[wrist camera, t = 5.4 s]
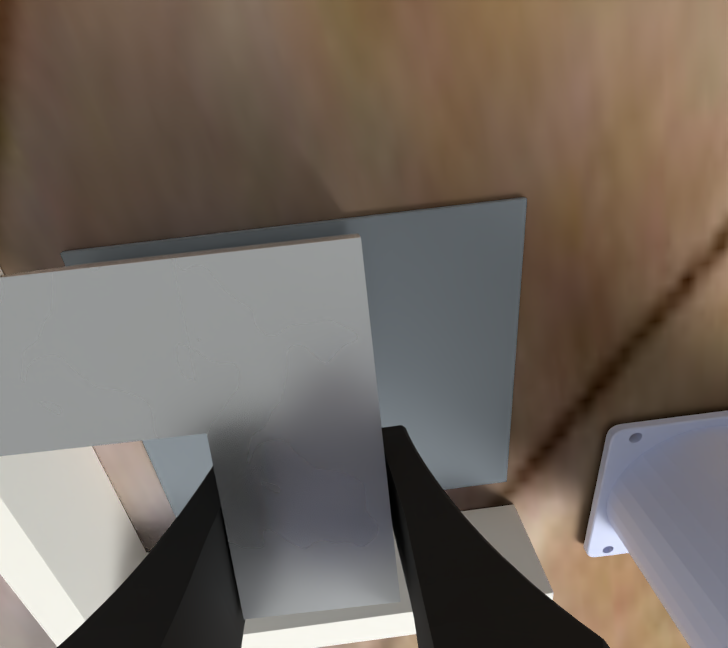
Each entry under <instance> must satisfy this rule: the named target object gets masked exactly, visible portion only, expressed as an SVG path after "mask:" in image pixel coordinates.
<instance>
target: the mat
mask: <svg viewBox="0 0 728 648" xmlns="http://www.w3.org/2000/svg"><path fill="white" fill-rule="evenodd" d="M526 207H527V198H525V197H521V198H513V199H504V200H496V201H487V202H479V203H470V204H462V205H453V206H445V207H436V208H428V209H419V210H411V211H402V212H394V213H385V214H377V215H368V216H359V217H351V218H342V219H334V220H325V221H317V222H308V223H300V224H291V225H283V226H274V227H266V228H257V229H249V230H240V231H232V232H223V233H215V234H206V235H198V236H189V237H181V238H172V239H164V240H155V241H147V242H138V243H130V244H121V245H113V246H104V247H96V248H87V249H79V250H70V251H63V252H62V253H60V255H61V257H62V259H63V261H64V264H65V266H72V265H79V264H86V263H95V262H103V261H112V260H121V259H130V258H139V257H148V256H157V255H166V254H175V253H184V252H193V251H202V250H211V249H220V248H229V247H238V246H247V245H255V244H264V243H273V242H282V241H291V240H300V239H309V238H318V237H327V236H336V235H345V234H354V233H358V234H359V235H360V237H361V243H362V252H363V262H364V271H365V280H366V289H367V298H368V308H369V317H370V326H371V335H372V344H373V354H374V363H375V372H376V381H377V390H378V400H379V409H380V418H381V427H382V428H383V427H391V426H398V425H402V426H404V427H405V428H406V430H407V432H408V434H409V436H410V438H411V440H412V442H413V444H414V446H415V448H416V449H417V451H418V453H419V454H420V456H421V458H422V459H423V461H424V463H425V464H426V466H427V467H428V469H429V470H430V471H431V473H432V474H433V476H434V477H435V479H436V480H437V481H438V483H439V484H440V486H441V487H442V488H443V490H446V489H454V488H461V487H469V486H477V485H484V484H492V483H500V482H507V468H508V455H509V441H510V427H511V413H512V399H513V386H514V372H515V358H516V344H517V331H518V317H519V303H520V289H521V276H522V262H523V248H524V234H525V221H526ZM142 441H143V444H144V446H145V448H146V451H147V453H148V455H149V457H150V460H151V462H152V464H153V467H154V469H155V471H156V473H157V476H158V478H159V480H160V483H161V485H162V487H163V489H164V492H165V494H166V496H167V498H168V501H169V503H170V505H171V508H172V510H173V512H174V514H175V517H176V518H177V517H178V515H179V514H180V513H181V511H182V510H183V508H184V507H185V506H186V504H187V503H188V501H189V500H190V499H191V497H192V496H193V494H194V493H195V492H196V490H197V489H198V487H199V486H200V484H201V483H202V481H203V480H204V478H205V477H206V475H207V474H208V472H209V471H210V469H211V468H212V466H213V463H212V458H211V453H210V448H209V443H208V438H207V433H205V434H196V435H187V436H178V437H169V438H160V439H151V440H142Z"/></svg>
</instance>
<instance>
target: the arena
mask: <svg viewBox="0 0 728 648" xmlns="http://www.w3.org/2000/svg"><path fill="white" fill-rule="evenodd" d="M1 275H4V274H3V272H2V270H1V268H0V276H1ZM461 512H462V514H463V515H464V516H465V517H466V518H467V519H468V520H469V522H470V523H471V524H472V525H473V526H474V527H475V528H476V529H477V530H478V532H479V533H480V534H481V535H482V536H483V537H484V538H485V539H486V540H487V541H488V542H489V543H490V544H491V545H492V546H493V547H494V548H495V549H496V550H497V551H498V552H499V553H500V554H501V555H502V556H503V557H504V558H505V559H506V560H507V561H508V562H509V563H511V564H512V565H513V566H514V567H515V568H516V569H517V570H518V571H519V572H520V573H522V574H523V575H524V576H525V577H526V578H527V579H528V580H529V581H530V582H531V583H533V584H534V585H535V586H536V587H537V588H538V589H539V590H541V591H542V592H543V593H544V594H546V595H547V596H548V597H549V598H550V599H553V590H552V588H551V586H550V584H549V581H548V579H547V577H546V575H545V573H544V570H543V568H542V566H541V564H540V561H539V559H538V557H537V555H536V553H535V550H534V548H533V546H532V544H531V541H530V539H529V537H528V535H527V532H526V530H525V528H524V526H523V524H522V521H521V519H520V517H519V515H518V512H517V510H516V508H515V506H514V504H513V505H506V506H498V507H490V508H483V509H475V510H467V511H461ZM392 528H393V527H392ZM393 537H394V547H395V556H396V565H397V574H398V583H399V593H400V602H395V603H386V604H377V605H368V606H359V607H350V608H341V609H333V610H324V611H315V612H306V613H297V614H288V615H279V616H270V617H261V618H252V619H245V625H244V632H243V639H242V647H241V648H316V647H324V646H331V645H338V644H346V643H353V642H361V641H368V640H375V639H383V638H390V637H397V636H405V635H412V634H416V628H415V622H414V617H413V612H412V607H411V602H410V597H409V593H408V589H407V585H406V581H405V577H404V573H403V569H402V565H401V560H400V556H399V552H398V548H397V544H396V540H395V536H394V531H393ZM148 554H149V552H147V553H146V551H145V549H144V547H143V545H142V543H141V541H140V539H139V537H138V535H137V533H136V531H135V529H134V527H133V525H132V523H131V521H130V519H129V518H128V516H127V514H126V512H125V510H124V508H123V506H122V504H121V502H120V500H119V498H118V496H117V494H116V492H115V490H114V488H113V486H112V484H111V482H110V480H109V478H108V477H107V475H106V473H105V471H104V469H103V467H102V465H101V463H100V461H99V459H98V457H97V455H96V453H95V451H94V449H93V447H92V446H89V447H80V448H71V449H62V450H53V451H44V452H35V453H26V454H17V455H8V456H0V574H1V576H2V577H3V578H4V579H5V581H6V582H7V583H8V584H9V586H10V587H11V588H12V590H13V591H14V592H15V593H16V595H17V596H18V597H19V599H20V600H21V601H22V602H23V604H24V605H25V606H26V608H27V609H28V610H29V611H30V613H31V614H32V615H33V617H34V618H35V619H36V620H37V622H38V623H39V624H40V625H41V627H42V628H43V629H44V631H45V632H46V633H47V634H48V636H49V637H50V638H51V640H52V641H53V642H54V643H55V645H56V646H57V647H58V646H59V645H60V644H61V643H62V642H64V641H65V640H66V639H67V638H68V637H69V636H70V635H71V634H72V633H73V632H74V631H76V630H77V629H78V628H79V627H80V626H81V625H82V624H83V623H84V622H85V621H86V620H87V619H88V618H89V617H90V616H91V615H92V614H93V613H94V612H95V611H96V610H97V609H98V608H99V607H100V606H101V605H102V604H103V603H104V602H105V601H106V600H107V599H108V598H109V597H110V596H111V595H112V594H113V593H114V592H115V591H116V590H117V589H118V588H119V586H120V585H121V584H122V583H123V582H124V581H125V580H126V579H127V578H128V577H129V575H130V574H131V573H132V572H133V571H134V570H135V569H136V568H137V566H138V565H139V564H140V563H141V562H142V561H143V560H144V558H145V557H146V556H147V555H148Z"/></svg>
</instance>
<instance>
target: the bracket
mask: <svg viewBox="0 0 728 648" xmlns="http://www.w3.org/2000/svg"><path fill="white" fill-rule="evenodd" d="M205 433H207V438H208V443H209V448H210V453H211V458H212V463H213V468H214V473H215V478H216V483H217V488H218V493H219V498H220V503H221V508H222V513H223V518H224V523H225V528H226V533H227V538H228V543H229V548H230V553H231V558H232V563H233V568H234V573H235V578H236V583H237V588H238V593H239V598H240V603H241V608H242V613H243V618H244V619H252V618H261V617H270V616H279V615H288V614H297V613H306V612H315V611H324V610H333V609H341V608H350V607H359V606H368V605H377V604H386V603H395V602H400V593H399V583H398V574H397V565H396V556H395V547H394V537H393V528H392V519H391V510H390V501H389V491H388V482H387V473H386V464H385V455H384V445H383V436H382V427H381V418H380V409H379V400H378V390H377V381H376V372H375V363H374V354H373V344H372V335H371V326H370V317H369V308H368V298H367V289H366V280H365V271H364V262H363V252H362V243H361V237H360V235H359V234H358V233H354V234H345V235H336V236H327V237H318V238H309V239H300V240H291V241H282V242H273V243H264V244H255V245H247V246H238V247H229V248H220V249H211V250H202V251H193V252H184V253H175V254H166V255H157V256H148V257H139V258H130V259H121V260H112V261H103V262H95V263H86V264H79V265H72V266H64V267H57V268H50V269H43V270H36V271H29V272H22V273H15V274H8V275H1V276H0V456H8V455H17V454H26V453H35V452H44V451H53V450H62V449H71V448H80V447H89V446H98V445H107V444H115V443H124V442H133V441H142V440H151V439H160V438H169V437H178V436H187V435H196V434H205Z"/></svg>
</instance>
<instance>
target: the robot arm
mask: <svg viewBox="0 0 728 648" xmlns="http://www.w3.org/2000/svg"><path fill="white" fill-rule="evenodd" d="M382 436H383V445H384V455H385V464H386V473H387V482H388V491H389V501H390V510H391V519H392V527H393V531H394V536H395V540H396V544H397V548H398V552H399V556H400V560H401V565H402V569H403V573H404V577H405V581H406V585H407V589H408V593H409V597H410V602H411V607H412V612H413V617H414V622H415V628H416V635H417V641H418V647H419V648H610V647H609V646H608V644H607V643H606V642H605V640H604V639H602V638H601V637H600V636H598V635H597V634H596V633H594V632H593V631H592V630H590V629H589V628H588V627H586V626H585V625H584V624H582V623H581V622H579V621H578V620H577V619H576V618H574V617H573V616H572V615H570V614H569V613H568V612H567V611H565V610H564V609H563V608H561V607H560V606H559V605H558V604H556V603H555V602H554V601H553V600H552V599H550V598H549V597H548V596H547V595H546V594H544V593H543V592H542V591H541V590H539V589H538V588H537V587H536V586H535V585H534V584H533V583H531V582H530V581H529V580H528V579H527V578H526V577H525V576H524V575H523V574H522V573H520V572H519V571H518V570H517V569H516V568H515V567H514V566H513V565H512V564H511V563H509V562H508V561H507V560H506V559H505V558H504V557H503V556H502V555H501V554H500V553H499V552H498V551H497V550H496V549H495V548H494V547H493V546H492V545H491V544H490V543H489V542H488V541H487V540H486V539H485V538H484V537H483V536H482V535H481V534H480V533H479V532H478V530H477V529H476V528H475V527H474V526H473V525H472V524H471V523H470V522H469V520H468V519H467V518H466V517H465V516H464V515H463V514H462V512H461V511H460V510H459V509H458V507H457V506H456V505H455V504H454V503H453V501H452V500H451V499H450V498H449V496H448V495H447V494H446V492H445V491H444V490H443V488H442V487H441V486H440V484H439V483H438V481H437V480H436V479H435V477H434V476H433V474H432V473H431V471H430V470H429V469H428V467H427V466H426V464H425V463H424V461H423V459H422V458H421V456H420V454H419V453H418V451H417V449H416V448H415V446H414V444H413V442H412V440H411V438H410V436H409V434H408V432H407V430H406V428H405V427H404V426H402V425H398V426H391V427H383V428H382ZM584 549H585V551H586V553H587V554H588V555H589V556H591V557H600V556H608V555H615V554H623V553H629V554H630V555H631V557H632V558H633V560H634V561H635V563H636V564H637V566H638V567H639V569H640V571H641V572H642V574H643V575H644V577H645V578H646V580H647V581H648V583H649V584H650V586H651V587H652V589H653V591H654V592H655V594H656V595H657V597H658V598H659V600H660V601H661V603H662V604H663V606H664V608H665V609H666V611H667V612H668V614H669V615H670V617H671V618H672V620H673V621H674V623H675V624H676V626H677V628H678V629H679V631H680V632H681V634H682V635H683V637H684V638H685V640H686V641H687V643H688V644H689V646H690V648H728V410H727V411H719V412H711V413H703V414H695V415H687V416H680V417H672V418H664V419H656V420H648V421H641V422H633V423H625V424H619V425H615V426H613V427H612V428H611V429H610V430H609V431H608V433H607V435H606V440H605V444H604V449H603V454H602V459H601V464H600V469H599V474H598V478H597V483H596V488H595V493H594V498H593V503H592V508H591V512H590V517H589V522H588V527H587V532H586V537H585V542H584ZM244 625H245V619H244V618H243V613H242V608H241V603H240V598H239V593H238V588H237V583H236V578H235V573H234V568H233V563H232V558H231V553H230V548H229V543H228V538H227V533H226V528H225V523H224V518H223V513H222V508H221V503H220V498H219V493H218V488H217V483H216V478H215V473H214V468H213V466H212V468H211V469H210V471H209V472H208V474H207V475H206V477H205V478H204V480H203V481H202V483H201V484H200V486H199V487H198V489H197V490H196V492H195V493H194V494H193V496H192V497H191V499H190V500H189V501H188V503H187V504H186V506H185V507H184V508H183V510H182V511H181V513H180V514H179V515H178V517H177V518H176V519H175V521H174V522H173V523H172V525H171V526H170V527H169V528H168V530H167V531H166V532H165V534H164V535H163V536H162V537H161V539H160V540H159V541H158V542H157V544H156V545H155V546H154V548H153V549H152V550H151V551H150V552H149V554H148V555H147V556H146V557H145V558H144V560H143V561H142V562H141V563H140V564H139V565H138V566H137V568H136V569H135V570H134V571H133V572H132V573H131V574H130V575H129V577H128V578H127V579H126V580H125V581H124V582H123V583H122V584H121V585H120V586H119V588H118V589H117V590H116V591H115V592H114V593H113V594H112V595H111V596H110V597H109V598H108V599H107V600H106V601H105V602H104V603H103V604H102V605H101V606H100V607H99V608H98V609H97V610H96V611H95V612H94V613H93V614H92V615H91V616H90V617H89V618H88V619H87V620H86V621H85V622H84V623H83V624H82V625H81V626H80V627H79V628H78V629H77V630H76V631H74V632H73V633H72V634H71V635H70V636H69V637H68V638H67V639H66V640H65V641H64V642H62V643H61V644H60V645H59V646H58V647H57V648H241V647H242V639H243V632H244Z"/></svg>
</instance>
